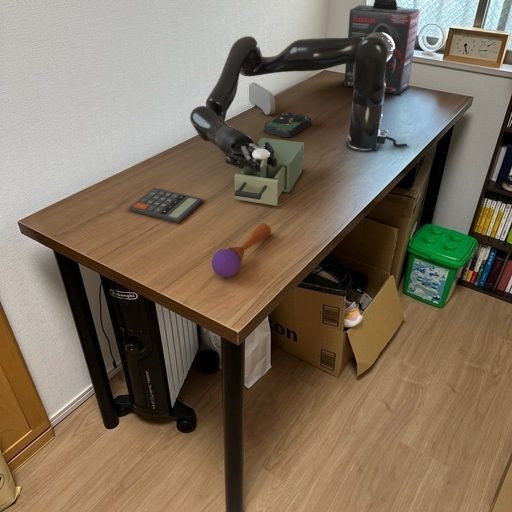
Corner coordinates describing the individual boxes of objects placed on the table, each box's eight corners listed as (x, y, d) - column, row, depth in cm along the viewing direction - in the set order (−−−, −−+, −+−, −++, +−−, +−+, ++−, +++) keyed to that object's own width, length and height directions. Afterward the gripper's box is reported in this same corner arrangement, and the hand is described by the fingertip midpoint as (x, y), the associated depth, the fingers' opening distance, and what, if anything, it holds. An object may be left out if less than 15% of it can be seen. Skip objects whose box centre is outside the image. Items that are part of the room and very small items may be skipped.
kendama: (278, 224, 113) (232, 265, 98) (273, 244, 116) (227, 287, 101) (256, 213, 115) (208, 252, 100) (251, 234, 118) (204, 274, 103)
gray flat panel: (275, 116, 179) (276, 94, 174) (270, 118, 178) (270, 95, 173) (252, 101, 193) (252, 79, 188) (247, 102, 192) (247, 80, 187)
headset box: (342, 86, 207) (349, -2, 187) (353, 78, 215) (362, -7, 196) (398, 95, 196) (413, 3, 177) (408, 87, 204) (423, -2, 185)
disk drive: (286, 119, 177) (263, 131, 167) (286, 111, 176) (263, 123, 166) (311, 124, 173) (289, 138, 163) (311, 117, 171) (289, 130, 161)
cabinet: (288, 192, 133) (289, 163, 128) (245, 185, 136) (244, 157, 131) (302, 170, 144) (303, 142, 139) (261, 164, 147) (261, 137, 142)
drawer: (269, 218, 121) (269, 193, 117) (226, 210, 124) (225, 186, 120) (290, 183, 136) (291, 160, 131) (252, 177, 139) (251, 154, 135)
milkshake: (270, 187, 127) (271, 151, 121) (250, 185, 128) (250, 149, 122) (273, 179, 131) (274, 144, 125) (254, 177, 132) (254, 142, 126)
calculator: (154, 187, 134) (202, 198, 129) (155, 190, 135) (202, 201, 129) (128, 207, 126) (178, 219, 120) (129, 210, 126) (178, 222, 121)
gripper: (209, 135, 130) (243, 159, 118) (255, 124, 136) (291, 145, 125) (211, 161, 135) (243, 186, 123) (255, 149, 141) (290, 172, 129)
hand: (267, 165), depth 124 cm, fingers closed on milkshake, 4 cm apart
